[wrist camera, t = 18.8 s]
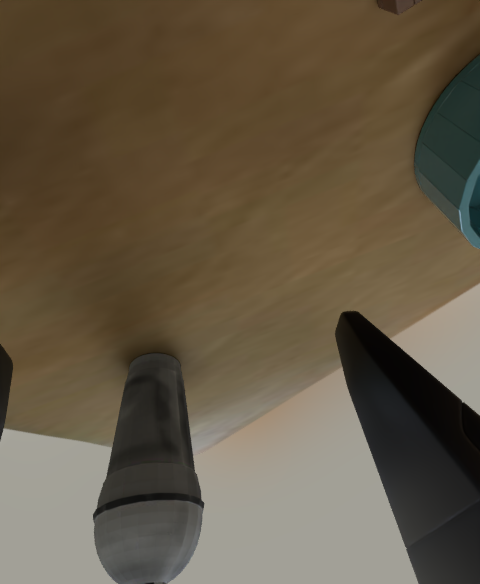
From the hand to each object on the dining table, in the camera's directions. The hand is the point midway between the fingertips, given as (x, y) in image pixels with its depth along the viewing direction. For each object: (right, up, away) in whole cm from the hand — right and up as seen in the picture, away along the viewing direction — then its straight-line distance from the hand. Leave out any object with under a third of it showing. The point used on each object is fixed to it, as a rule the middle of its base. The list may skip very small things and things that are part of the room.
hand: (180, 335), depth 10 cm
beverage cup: (-6, -5, +23) cm, 25 cm away
